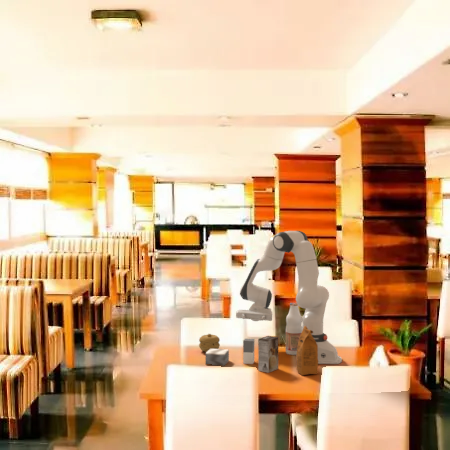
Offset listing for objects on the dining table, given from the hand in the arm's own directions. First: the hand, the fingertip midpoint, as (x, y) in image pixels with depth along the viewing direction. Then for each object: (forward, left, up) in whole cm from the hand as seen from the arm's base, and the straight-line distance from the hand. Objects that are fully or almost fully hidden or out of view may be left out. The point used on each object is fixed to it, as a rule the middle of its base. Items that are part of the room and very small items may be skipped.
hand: (252, 318), depth 304 cm
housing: (0, +12, -21) cm, 24 cm away
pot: (+26, -6, -21) cm, 34 cm away
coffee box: (-12, +23, -21) cm, 33 cm away
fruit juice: (-21, -13, -21) cm, 33 cm away
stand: (+16, +16, -21) cm, 31 cm away
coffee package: (-31, +23, -21) cm, 44 cm away
